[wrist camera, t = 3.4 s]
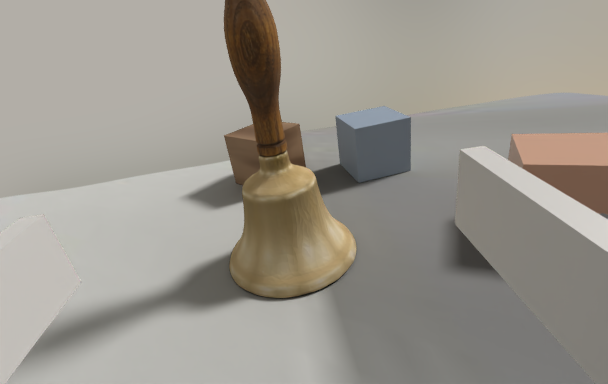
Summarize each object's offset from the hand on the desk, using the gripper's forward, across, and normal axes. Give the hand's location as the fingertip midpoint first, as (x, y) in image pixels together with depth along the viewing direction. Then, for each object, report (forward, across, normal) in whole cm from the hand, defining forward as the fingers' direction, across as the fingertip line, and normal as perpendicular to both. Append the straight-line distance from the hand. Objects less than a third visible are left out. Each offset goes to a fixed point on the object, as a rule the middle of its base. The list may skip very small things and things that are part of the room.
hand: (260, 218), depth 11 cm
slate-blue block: (+20, +8, -8) cm, 24 cm away
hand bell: (+9, 0, -8) cm, 12 cm away
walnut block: (+22, -1, -8) cm, 23 cm away
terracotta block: (+8, +17, -8) cm, 20 cm away
